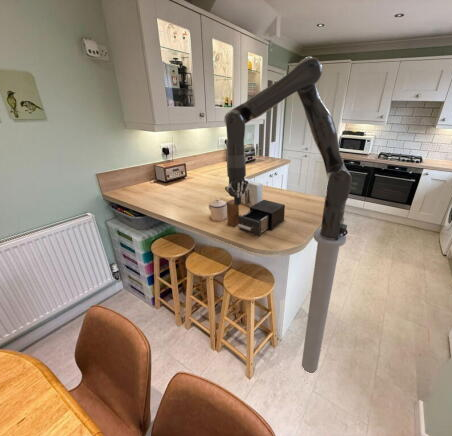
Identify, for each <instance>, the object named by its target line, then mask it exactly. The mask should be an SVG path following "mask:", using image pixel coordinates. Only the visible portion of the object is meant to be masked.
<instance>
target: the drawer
mask: <svg viewBox="0 0 452 436" xmlns="http://www.w3.org/2000/svg"><path fill="white" fill-rule="evenodd" d="M270 216H271V215H270V214H267V213H263V212H259V211H256V210H251V211H250V210H249V211H248V212H246V213H244V214H242V215H240V214H239V223H238V224H237V227H238V230H239V231H240V232H244V233H247V234H249V235H252V236H255V237H259V238H260V237H261V235H262V234H263V233H265V232H266V230H269V229H268V228H270Z"/></svg>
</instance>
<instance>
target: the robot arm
mask: <svg viewBox="0 0 452 436" xmlns="http://www.w3.org/2000/svg"><path fill="white" fill-rule="evenodd" d="M322 74H323V66H322V63H321V61H320V60H319V59H318V58H317V57H314V56H307V57H304V58H302V59H301V60H300V61H299V62H298V63H297V64H296V65H295V66H294V67H293V69H292V70H291V71H290V72H288V73H287V74H286V75H284V76H283V77H282V78H280V79H279V80H277V81H276V82H274V83H273V84H271V85H269V86H268V87H266V88H264V89H262V90H261V91H259V92H258V93H255V94H254V95H253V96H251V97H250V98H248V99H247V100H246V101H245V102H243V103H241V104H239V105H238V106H235V107H234V108H232V109H230V110H229V111H227V112H226V113H225V115H224V118H223V121H224V125H225V128H226V142H225V143H226V144H225V145H226V171H227V172H226V174H227V178H228V184H229V186H228V185H227V186H225V188H224V190H225V191H226V192H227V194H228V195H229V196H230V197H231V198H233V200H234V203H235V205H239V206H240V205H242V203H241V196H242V194H244V192H245V190H246V187H247V184H248V181H246V180H245V178H246V177H247V176H246V175H247V165H246V154H245V153H246V152H245V136H246V135H245V134H246V124H248V123H249V122H251V121H252V120H256V119H258V118H260V117H261V116H263V115H264V114H267V112H269V111H270V110H271V109H273V108H275V107H276V106H277V105H279V104H280V103H281V102H283V101H285V99H287V98H288V97H289V96H291V95H293V94H294V93H297V95H298V98H299V100H300V102H301V104H302V107H303V109H304V114H305V117H306V120H307V123H308V125H309V130H310V132H311V135H312V139H313V141H314V143H315V146H316V148H317V150H318V152H319V154H320V156H321V158H322V161H323V164H324V170H325V173H326V179H327V182H328V183H327V189H326V195H325V197H324V202H323V203H324V204H323V210H322V217H321V225H320V228H321V232H320V235H321V237H323V238H325V239H327V240H336V241H338V239H339V238H340V236H341V234H343V236H345V235H346V236H347V235H348V233H349V232H348V230H347V228H348V224H345V218H344V216H345V210H346V204H347V200H348V199H349V196H350V191H351V188H352V187H351V186H352V180H353V179H352V175H351V173H350V171H349V170H348V169H347V167H346V165H345V163H344V161H343V157H342V156H341V152H340V145H339V137H338V131H337V129H336V124H335V121H334V118H333V115H332V114H331V113H330V111H329V110H328V108H327V106H326V105H325V104H324V102H323V101H322V99H321V96H320V94H319V90H318V87H317V83H318V82H319V81H320V79H321V77H322Z"/></svg>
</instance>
